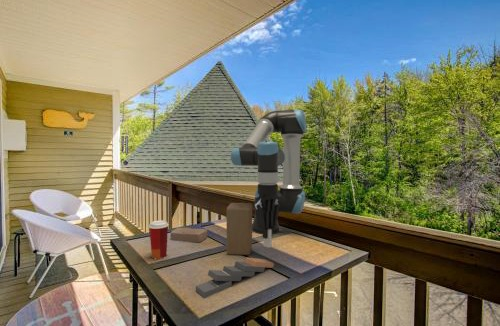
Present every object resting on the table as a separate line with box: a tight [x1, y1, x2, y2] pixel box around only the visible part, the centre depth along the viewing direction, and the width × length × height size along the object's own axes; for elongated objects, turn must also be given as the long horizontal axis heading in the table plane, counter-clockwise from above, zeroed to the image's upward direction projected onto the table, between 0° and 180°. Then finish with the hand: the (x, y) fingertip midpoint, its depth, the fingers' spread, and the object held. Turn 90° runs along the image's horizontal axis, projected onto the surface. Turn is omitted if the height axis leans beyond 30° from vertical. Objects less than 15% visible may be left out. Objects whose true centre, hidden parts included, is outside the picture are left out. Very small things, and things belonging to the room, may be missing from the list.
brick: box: [169, 227, 208, 243], centre depth 128 cm, size 17×8×5 cm, turn 74°
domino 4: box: [233, 260, 266, 273], centre depth 91 cm, size 2×5×10 cm
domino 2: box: [195, 278, 233, 298], centre depth 81 cm, size 2×5×10 cm
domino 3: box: [222, 265, 256, 278], centre depth 88 cm, size 2×5×10 cm
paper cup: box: [148, 219, 170, 260], centre depth 106 cm, size 8×8×14 cm
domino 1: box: [207, 269, 243, 282], centre depth 85 cm, size 2×5×10 cm
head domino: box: [244, 257, 275, 269], centre depth 95 cm, size 2×5×10 cm
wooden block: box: [226, 202, 253, 256], centre depth 112 cm, size 10×10×20 cm
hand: (267, 246), depth 98 cm, fingers closed
